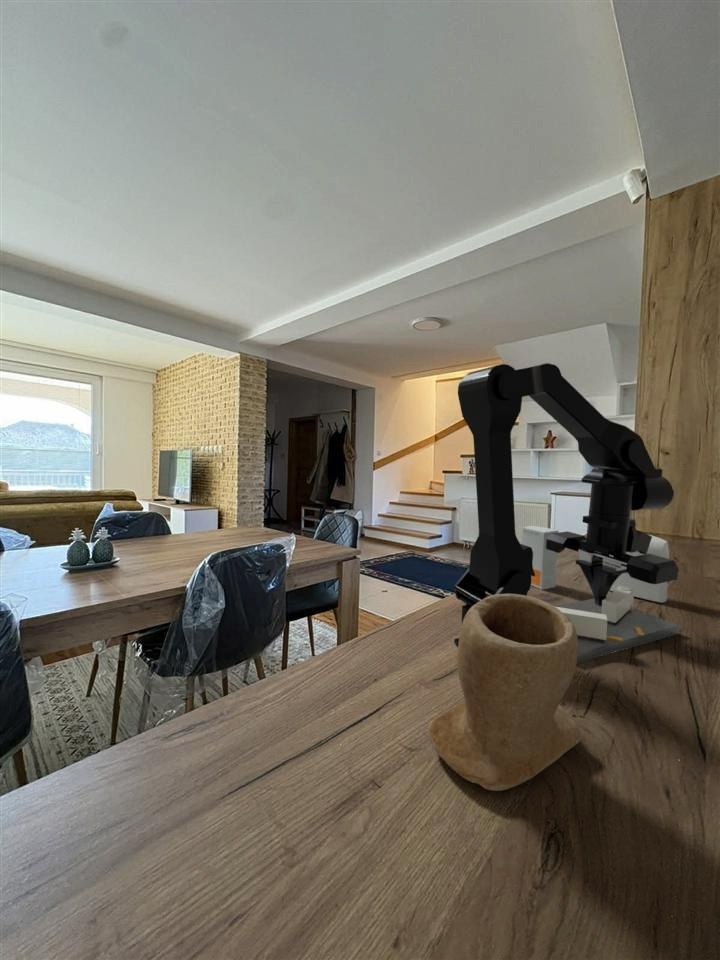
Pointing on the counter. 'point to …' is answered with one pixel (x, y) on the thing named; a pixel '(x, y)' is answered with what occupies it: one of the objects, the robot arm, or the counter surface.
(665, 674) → the counter surface
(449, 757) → the stone cup
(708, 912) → the counter surface
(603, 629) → the white rectangular block
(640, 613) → the levelling base
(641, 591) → the photo printer
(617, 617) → the off-white long bar
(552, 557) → the skincare box
